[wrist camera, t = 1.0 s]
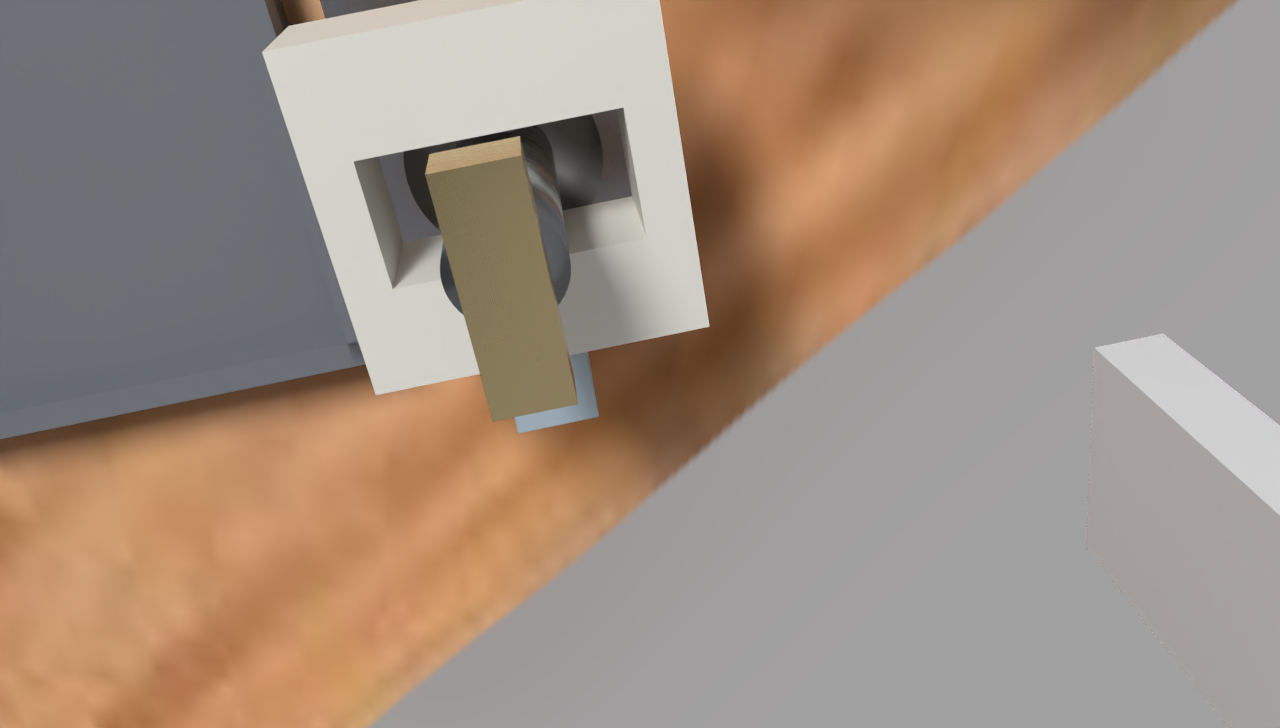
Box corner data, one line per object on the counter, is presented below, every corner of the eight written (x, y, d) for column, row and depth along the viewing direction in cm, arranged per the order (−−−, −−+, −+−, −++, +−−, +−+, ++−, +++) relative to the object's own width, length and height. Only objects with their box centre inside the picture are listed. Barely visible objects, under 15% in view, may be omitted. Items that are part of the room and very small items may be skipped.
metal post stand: (404, 261, 32) (347, 526, 20) (324, -10, 29) (195, 117, 16) (661, 209, 33) (756, 440, 20) (614, -67, 29) (698, 18, 17)
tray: (-43, 422, 33) (-71, 453, 31) (-423, -259, 24) (-488, -265, 23) (387, 335, 33) (381, 361, 32) (164, -368, 25) (141, -381, 23)
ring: (406, 398, 28) (396, 458, 26) (288, 25, 24) (262, 51, 21) (699, 338, 29) (719, 391, 26) (638, -43, 24) (655, -26, 21)
